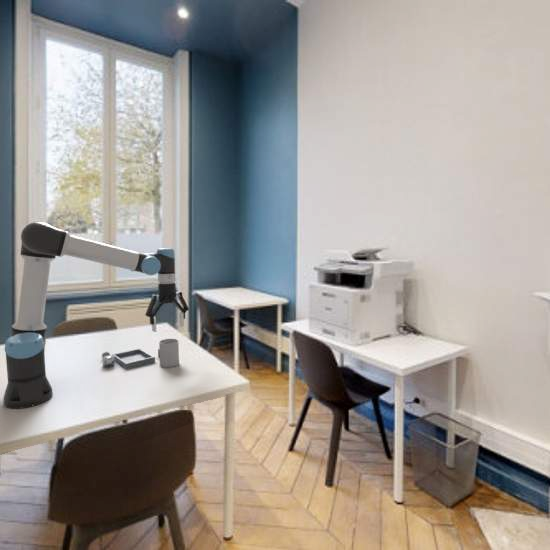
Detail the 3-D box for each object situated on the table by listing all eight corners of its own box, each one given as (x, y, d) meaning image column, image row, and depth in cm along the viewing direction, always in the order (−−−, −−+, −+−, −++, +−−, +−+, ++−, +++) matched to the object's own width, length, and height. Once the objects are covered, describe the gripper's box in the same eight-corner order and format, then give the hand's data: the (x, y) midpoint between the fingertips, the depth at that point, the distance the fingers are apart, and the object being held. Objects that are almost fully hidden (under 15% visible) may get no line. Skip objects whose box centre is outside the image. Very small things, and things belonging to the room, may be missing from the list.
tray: (125, 369, 173) (125, 363, 173) (112, 359, 185) (112, 354, 185) (155, 361, 182) (154, 357, 182) (140, 353, 194) (139, 348, 194)
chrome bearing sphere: (104, 368, 173) (104, 359, 173) (101, 365, 177) (100, 357, 177) (116, 365, 177) (115, 357, 176) (112, 363, 180) (111, 354, 180)
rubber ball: (103, 361, 182) (103, 353, 182) (100, 359, 185) (100, 351, 184) (111, 359, 185) (111, 352, 184) (108, 357, 187) (108, 350, 187)
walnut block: (162, 359, 186) (161, 351, 185) (158, 357, 189) (158, 349, 188) (169, 357, 188) (169, 349, 188) (166, 355, 191) (165, 347, 191)
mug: (180, 366, 176) (179, 343, 175) (160, 368, 173) (159, 344, 172) (177, 358, 188) (176, 335, 186) (158, 360, 185) (157, 337, 183)
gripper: (143, 286, 165) (145, 335, 167) (195, 280, 181) (196, 325, 184) (136, 284, 170) (138, 331, 173) (187, 279, 187) (188, 322, 190)
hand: (168, 328), depth 179 cm, fingers open, 13 cm apart
